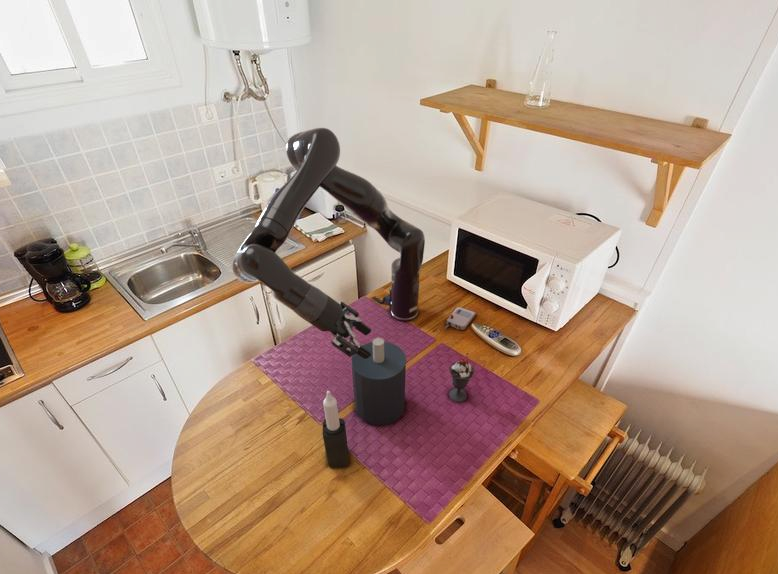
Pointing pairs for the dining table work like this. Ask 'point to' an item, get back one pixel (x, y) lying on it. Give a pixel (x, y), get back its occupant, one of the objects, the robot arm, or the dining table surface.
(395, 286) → the robot arm
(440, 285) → the dining table surface
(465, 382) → the sundae
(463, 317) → the grey handheld device
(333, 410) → the candle
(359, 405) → the grey canister with knob
